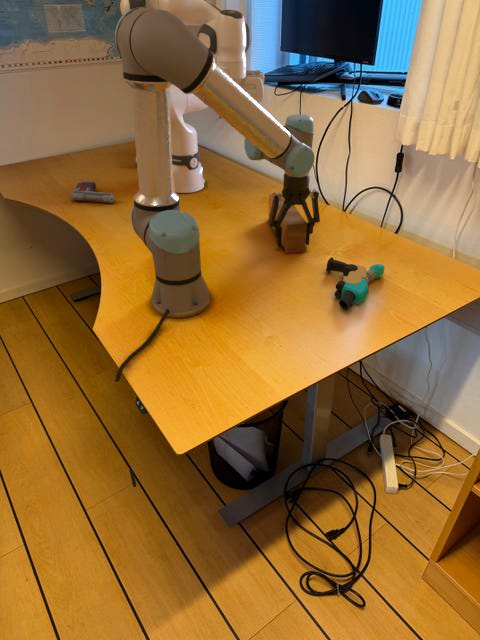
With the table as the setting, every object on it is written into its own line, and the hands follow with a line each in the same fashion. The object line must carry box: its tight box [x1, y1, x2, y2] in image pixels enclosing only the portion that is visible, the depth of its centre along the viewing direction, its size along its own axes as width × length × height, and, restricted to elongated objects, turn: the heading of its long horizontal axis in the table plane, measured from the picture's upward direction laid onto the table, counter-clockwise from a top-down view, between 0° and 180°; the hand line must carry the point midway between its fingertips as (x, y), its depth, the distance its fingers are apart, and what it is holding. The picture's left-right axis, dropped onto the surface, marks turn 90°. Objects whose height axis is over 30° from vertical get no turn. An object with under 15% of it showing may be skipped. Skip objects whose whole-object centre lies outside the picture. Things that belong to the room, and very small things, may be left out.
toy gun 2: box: [325, 257, 386, 312], centre depth 129 cm, size 4×26×15 cm
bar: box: [268, 194, 307, 254], centre depth 154 cm, size 25×6×10 cm, turn 11°
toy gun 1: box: [69, 180, 115, 204], centre depth 185 cm, size 4×19×15 cm
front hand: (292, 244), depth 150 cm, fingers open, 8 cm apart
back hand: (233, 117), depth 159 cm, fingers open, 8 cm apart
